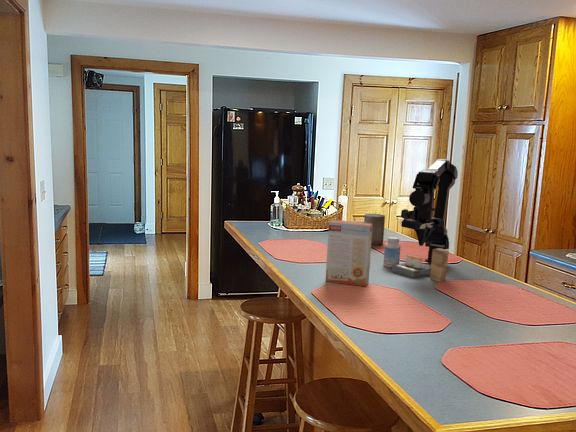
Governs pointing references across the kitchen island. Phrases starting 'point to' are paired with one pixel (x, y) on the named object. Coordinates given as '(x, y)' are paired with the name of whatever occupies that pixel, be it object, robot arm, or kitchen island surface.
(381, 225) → the pillar candle
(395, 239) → the pill bottle
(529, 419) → the kitchen island surface
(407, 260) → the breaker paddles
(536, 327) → the kitchen island surface
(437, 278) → the oak post
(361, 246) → the cracker box
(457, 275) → the kitchen island surface
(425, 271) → the breaker panel
